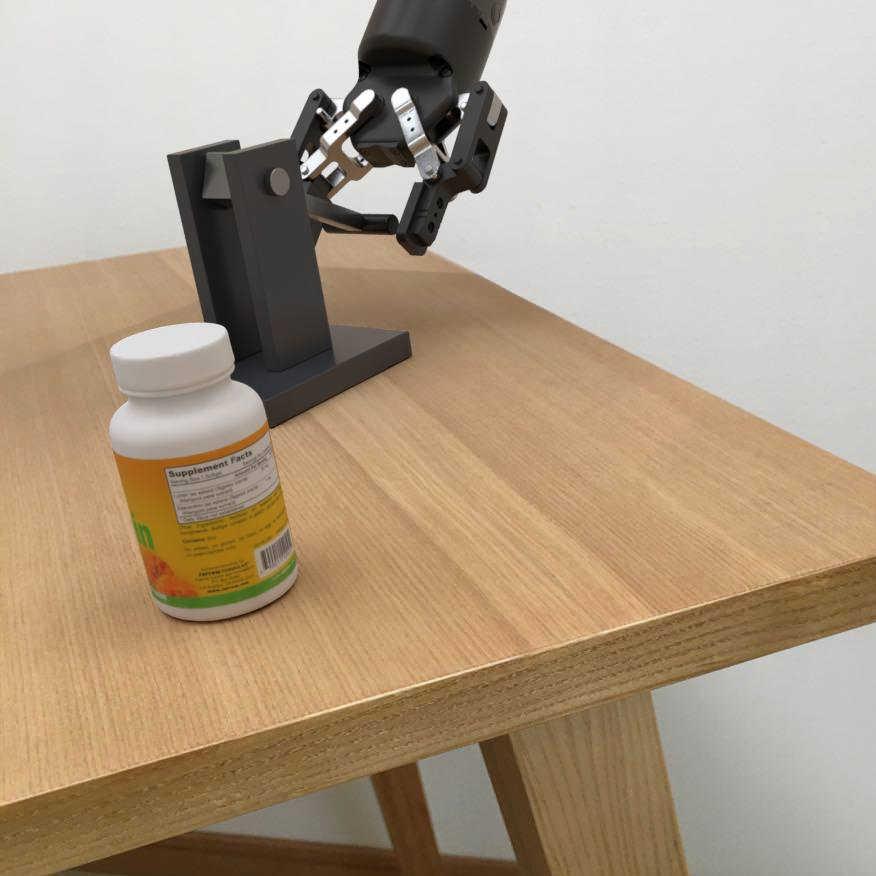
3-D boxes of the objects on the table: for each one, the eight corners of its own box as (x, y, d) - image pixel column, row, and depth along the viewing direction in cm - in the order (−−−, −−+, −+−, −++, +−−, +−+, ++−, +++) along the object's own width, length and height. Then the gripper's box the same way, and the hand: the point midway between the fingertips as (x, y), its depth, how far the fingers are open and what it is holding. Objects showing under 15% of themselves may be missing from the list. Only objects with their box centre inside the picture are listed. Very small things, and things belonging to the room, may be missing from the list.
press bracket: (284, 343, 76) (241, 128, 70) (413, 355, 71) (378, 124, 65) (136, 409, 67) (74, 169, 61) (271, 428, 62) (217, 168, 56)
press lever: (332, 245, 75) (336, 205, 74) (397, 247, 72) (401, 206, 72) (181, 198, 64) (186, 152, 64) (251, 199, 62) (256, 150, 62)
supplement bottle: (149, 578, 48) (83, 335, 43) (286, 544, 49) (235, 307, 45) (162, 639, 43) (89, 375, 39) (313, 600, 44) (259, 342, 40)
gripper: (314, -16, 77) (223, 209, 73) (505, -37, 69) (414, 213, 66) (380, 63, 83) (299, 275, 79) (561, 52, 76) (481, 284, 72)
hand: (351, 246), depth 72 cm, fingers open, 8 cm apart
